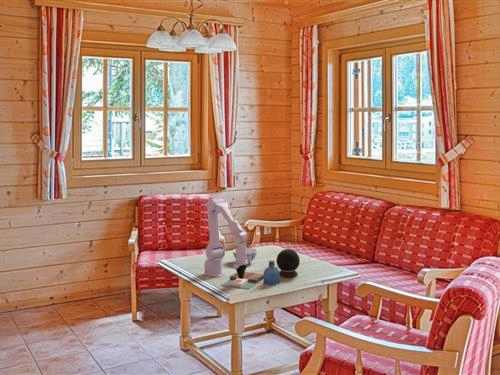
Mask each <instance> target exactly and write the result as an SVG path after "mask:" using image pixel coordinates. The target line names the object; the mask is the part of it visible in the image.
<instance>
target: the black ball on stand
mask: <svg viewBox="0 0 500 375" xmlns="http://www.w3.org/2000/svg"><path fill="white" fill-rule="evenodd" d="M275 261H276V266H277V268H278V270H279V272H280V278H282V279H283V278H285V279H292V278H293V277H294V278H296V276H297V277H298V275H299V274H298V272H297V271H296V270H297V269H298V268H299V265H300V263H301V261H300V256H299V254H298V253H297V251H295V250H293V249H290V248H285V249H282V250H281V251H280V252H279V253H278V254H277V256H276V259H275ZM294 278H293V279H294Z"/></svg>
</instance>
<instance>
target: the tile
mask: <svg viewBox="0 0 500 375" xmlns="http://www.w3.org/2000/svg"><path fill="white" fill-rule="evenodd" d="M246 283H248V279H239V278H237V279H236V280H234V281H233V282H231V285H233V286H240V287H242V286H243V285H245V284H246Z"/></svg>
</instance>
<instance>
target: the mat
mask: <svg viewBox="0 0 500 375" xmlns="http://www.w3.org/2000/svg"><path fill="white" fill-rule="evenodd" d="M233 281H234V280H230V279H228V280H227V281H225V282H223V283H222V284H220V286H221V287H227V288H228V287H229V288H235V289H244V290H250V289H252V288H253V287H254V286H256V285H257V284H256V283H251V282H248V283H246V284H245V285H243V286H242V287H240V286H233V285H231V282H233Z"/></svg>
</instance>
